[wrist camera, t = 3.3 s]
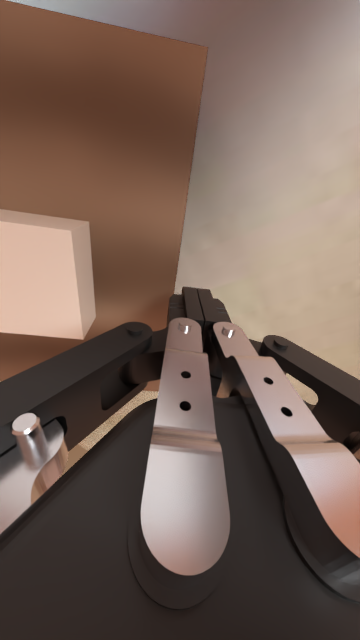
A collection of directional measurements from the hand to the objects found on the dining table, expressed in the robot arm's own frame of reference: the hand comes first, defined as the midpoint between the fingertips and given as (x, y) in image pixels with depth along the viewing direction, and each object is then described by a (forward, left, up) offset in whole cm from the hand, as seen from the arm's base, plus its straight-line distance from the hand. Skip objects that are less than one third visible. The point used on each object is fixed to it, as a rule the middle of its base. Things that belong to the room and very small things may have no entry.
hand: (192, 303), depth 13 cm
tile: (0, -9, -2) cm, 9 cm away
